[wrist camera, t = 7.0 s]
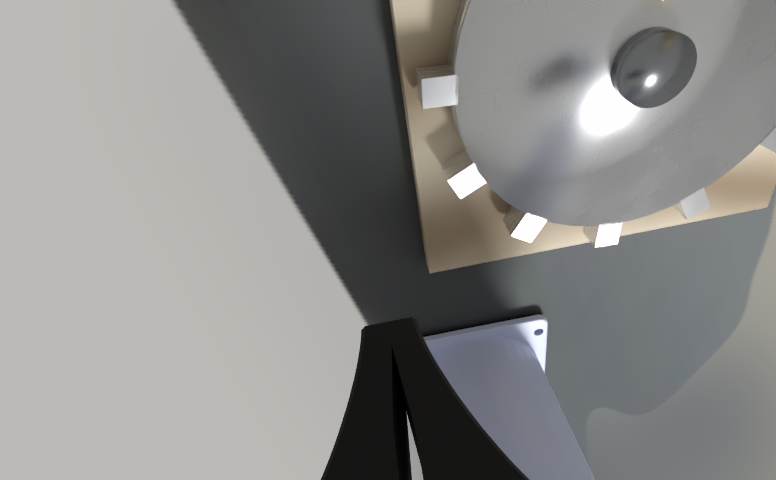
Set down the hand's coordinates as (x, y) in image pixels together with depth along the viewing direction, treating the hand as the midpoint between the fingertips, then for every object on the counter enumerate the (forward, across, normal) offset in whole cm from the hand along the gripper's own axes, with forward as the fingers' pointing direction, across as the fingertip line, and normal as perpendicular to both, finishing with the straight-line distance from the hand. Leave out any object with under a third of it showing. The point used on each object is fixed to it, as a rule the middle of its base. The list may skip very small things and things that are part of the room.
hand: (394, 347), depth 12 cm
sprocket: (+8, -10, -3) cm, 13 cm away
